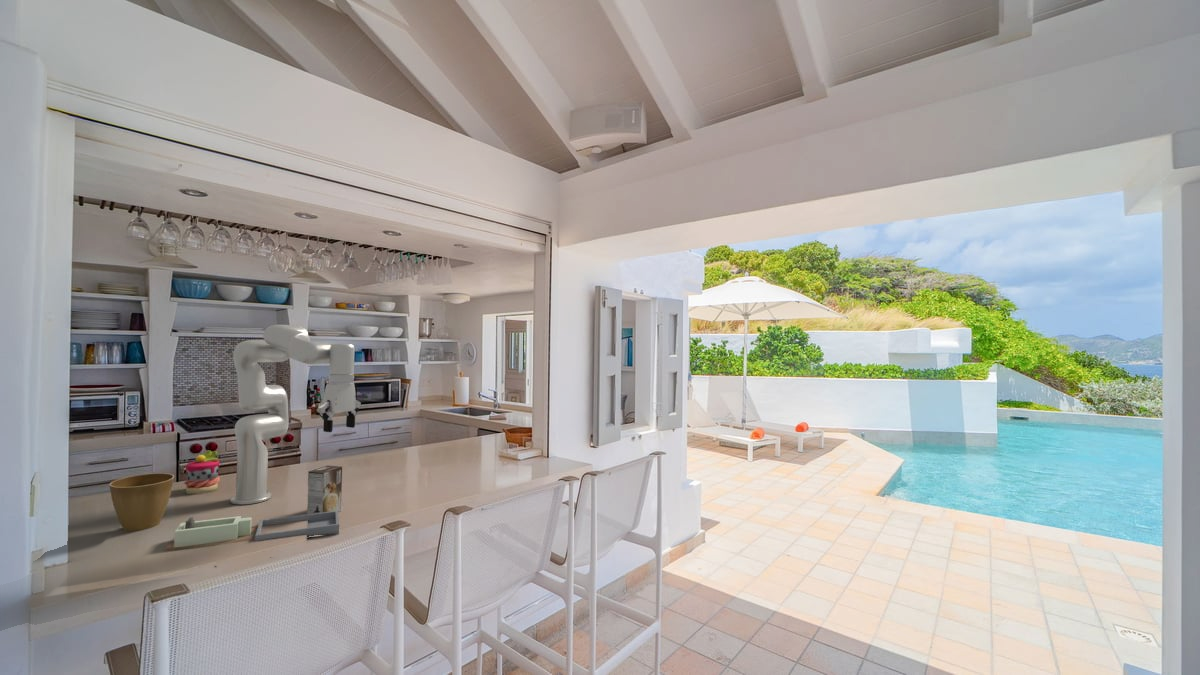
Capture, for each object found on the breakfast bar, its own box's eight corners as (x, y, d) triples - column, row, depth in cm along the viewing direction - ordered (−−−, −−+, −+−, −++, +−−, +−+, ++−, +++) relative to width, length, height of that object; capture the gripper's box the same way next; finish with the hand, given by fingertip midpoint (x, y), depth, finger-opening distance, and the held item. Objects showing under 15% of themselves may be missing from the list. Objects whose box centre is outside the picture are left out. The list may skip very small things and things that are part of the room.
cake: (209, 494, 192) (211, 455, 192) (178, 495, 189) (179, 455, 189) (224, 486, 202) (225, 449, 202) (194, 487, 200) (195, 449, 200)
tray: (260, 529, 159) (260, 519, 159) (337, 519, 170) (338, 510, 170) (254, 545, 147) (255, 535, 147) (338, 533, 158) (339, 524, 158)
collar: (180, 538, 147) (181, 522, 147) (252, 529, 155) (252, 514, 155) (174, 547, 141) (174, 531, 141) (249, 537, 149) (249, 522, 149)
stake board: (174, 541, 148) (175, 514, 148) (255, 530, 158) (256, 505, 158) (163, 557, 138) (164, 528, 138) (251, 545, 147) (252, 518, 147)
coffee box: (326, 509, 179) (327, 464, 179) (341, 511, 178) (343, 466, 178) (306, 518, 170) (308, 471, 170) (322, 520, 169) (324, 472, 169)
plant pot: (112, 527, 157) (114, 476, 157) (174, 519, 165) (176, 470, 166) (102, 544, 145) (104, 489, 145) (169, 533, 153) (171, 482, 154)
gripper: (351, 377, 180) (350, 424, 179) (311, 380, 163) (309, 432, 163) (368, 378, 177) (367, 426, 177) (329, 381, 161) (327, 434, 161)
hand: (339, 429), depth 170 cm, fingers open, 9 cm apart
